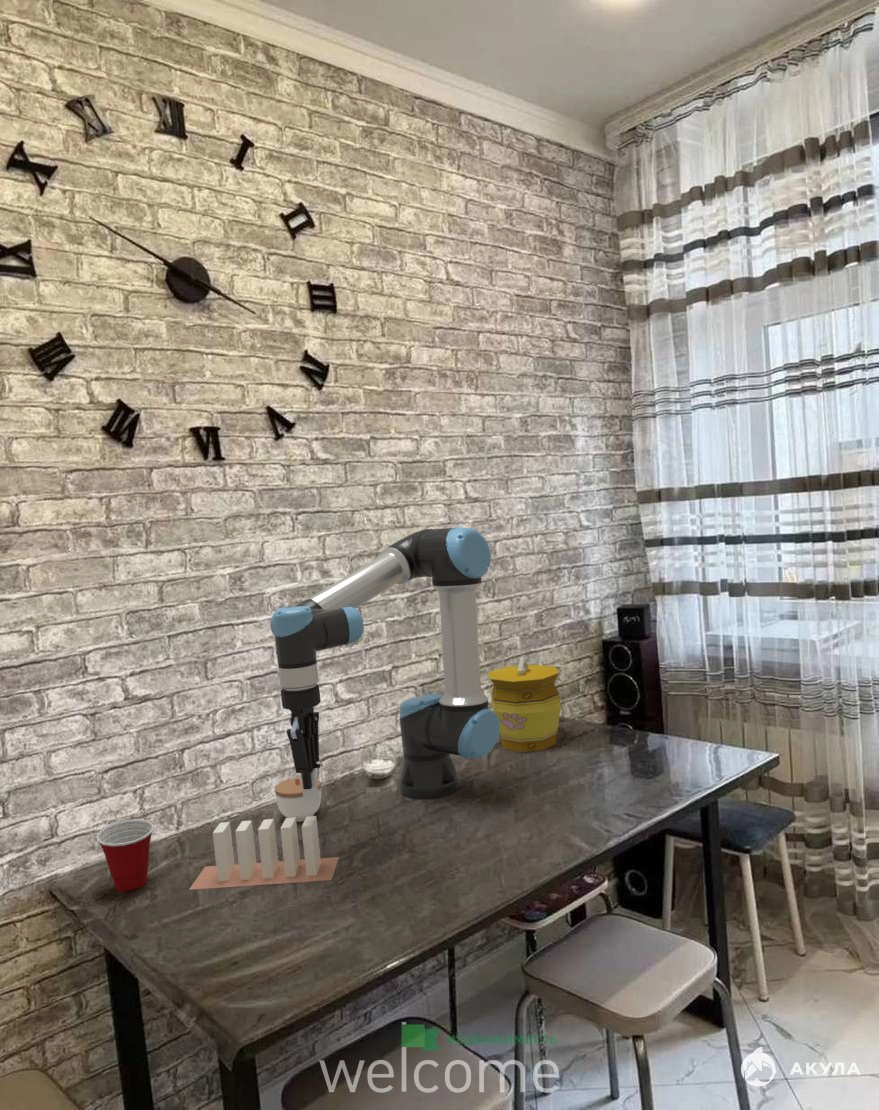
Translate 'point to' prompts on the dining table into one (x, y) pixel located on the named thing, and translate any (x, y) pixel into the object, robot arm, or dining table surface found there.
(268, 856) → the domino
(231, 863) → the domino
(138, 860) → the plastic cup
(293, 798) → the lidded jar
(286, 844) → the domino
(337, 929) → the dining table surface
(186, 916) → the dining table surface
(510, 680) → the container
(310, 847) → the domino
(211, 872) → the strip
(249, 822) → the domino
